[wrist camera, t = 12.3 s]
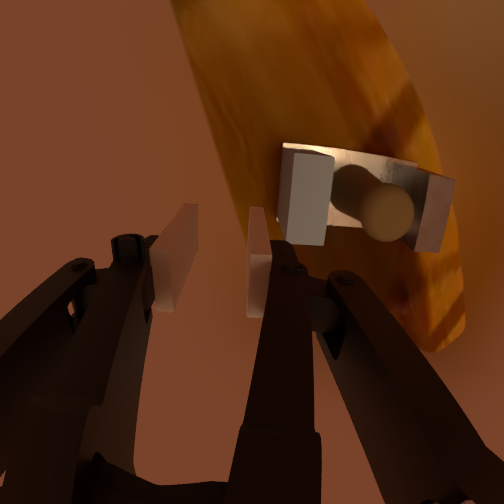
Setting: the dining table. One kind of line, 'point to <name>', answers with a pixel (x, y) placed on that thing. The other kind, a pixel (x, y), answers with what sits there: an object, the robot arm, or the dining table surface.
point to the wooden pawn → (372, 202)
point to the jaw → (304, 195)
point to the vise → (407, 177)
